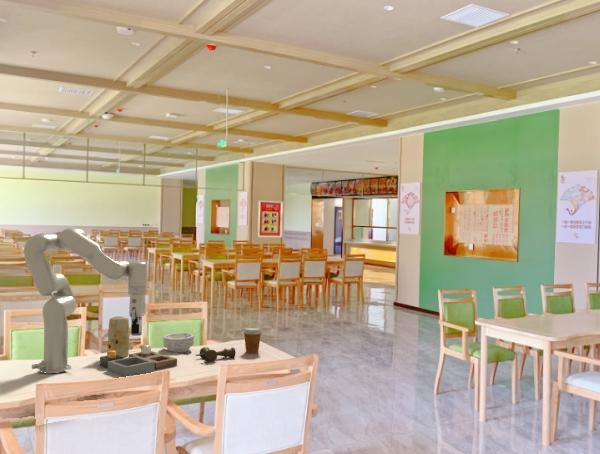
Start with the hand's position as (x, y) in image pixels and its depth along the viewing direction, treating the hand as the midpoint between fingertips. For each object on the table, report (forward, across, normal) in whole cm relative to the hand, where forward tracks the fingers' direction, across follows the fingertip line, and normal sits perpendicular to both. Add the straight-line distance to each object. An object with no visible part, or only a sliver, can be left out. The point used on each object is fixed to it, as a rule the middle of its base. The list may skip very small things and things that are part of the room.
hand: (136, 331), depth 238 cm
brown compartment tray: (+18, +12, -4) cm, 22 cm away
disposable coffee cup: (+18, +40, -48) cm, 66 cm away
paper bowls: (+18, +40, -11) cm, 46 cm away
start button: (+14, +6, +12) cm, 20 cm away
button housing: (+17, +6, +12) cm, 22 cm away
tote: (+18, -1, +2) cm, 18 cm away
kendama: (+18, +25, -31) cm, 44 cm away
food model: (+18, +23, +14) cm, 32 cm away
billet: (+1, 0, 0) cm, 1 cm away
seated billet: (+17, +16, 0) cm, 23 cm away
